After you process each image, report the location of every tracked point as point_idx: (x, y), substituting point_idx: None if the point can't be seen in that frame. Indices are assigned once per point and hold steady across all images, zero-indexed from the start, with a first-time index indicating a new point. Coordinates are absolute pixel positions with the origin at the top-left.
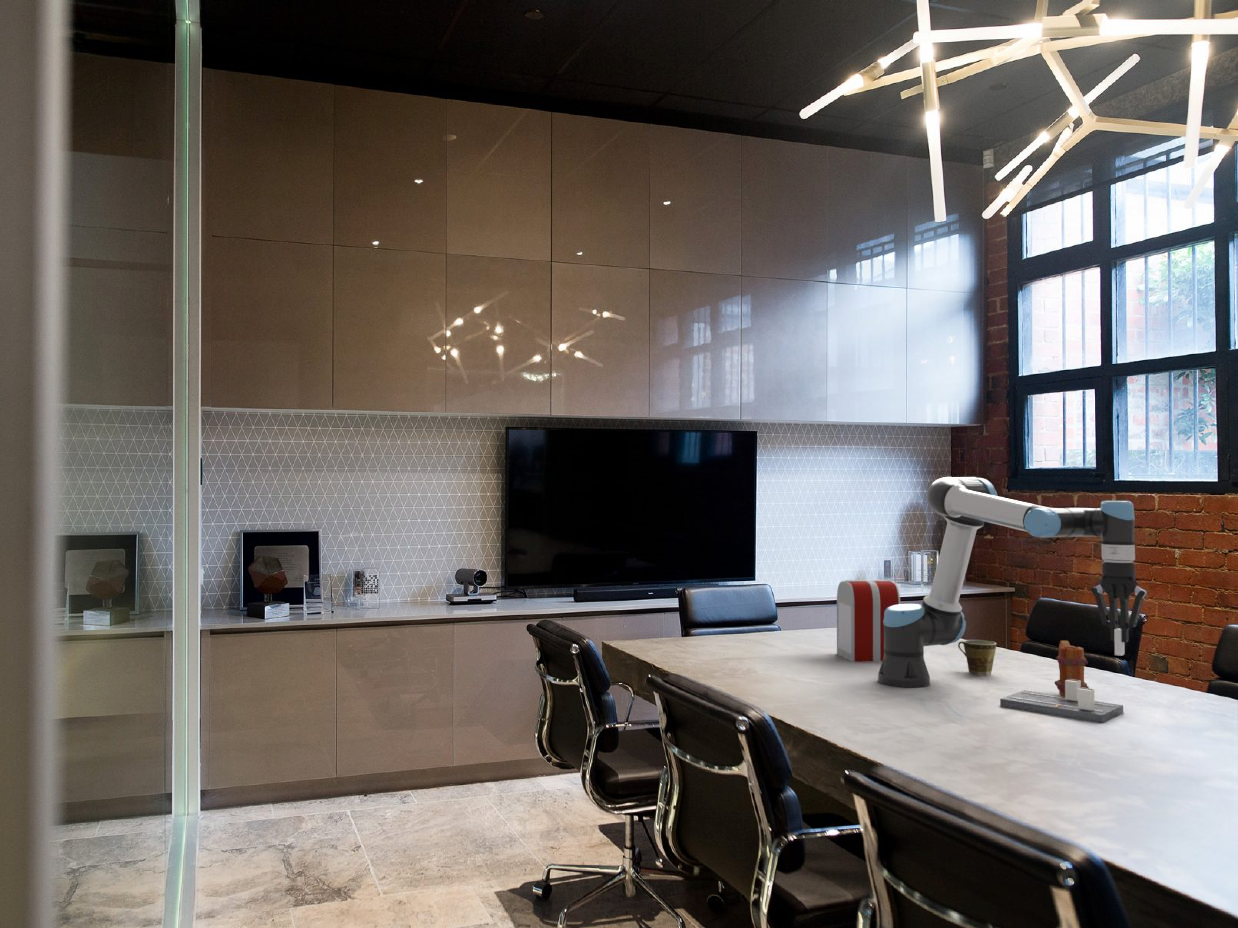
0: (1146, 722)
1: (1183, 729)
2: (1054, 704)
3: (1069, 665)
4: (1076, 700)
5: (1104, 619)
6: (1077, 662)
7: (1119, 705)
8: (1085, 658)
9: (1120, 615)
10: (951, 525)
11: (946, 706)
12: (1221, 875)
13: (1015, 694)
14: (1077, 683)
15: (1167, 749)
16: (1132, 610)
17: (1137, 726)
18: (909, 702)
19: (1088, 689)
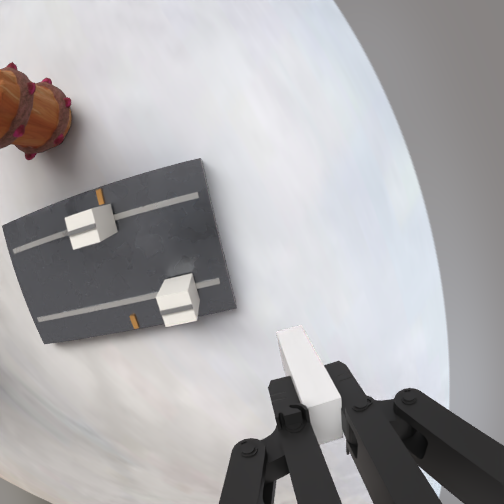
0: (285, 208)
1: (358, 203)
2: (117, 305)
3: (12, 141)
4: (116, 231)
5: (264, 497)
6: (22, 128)
7: (196, 169)
8: (21, 81)
9: (370, 495)
10: None
11: (39, 401)
12: (438, 491)
13: (22, 283)
14: (100, 233)
15: (387, 360)
16: (450, 488)
17: (293, 263)
18: (15, 412)
19: (184, 310)
